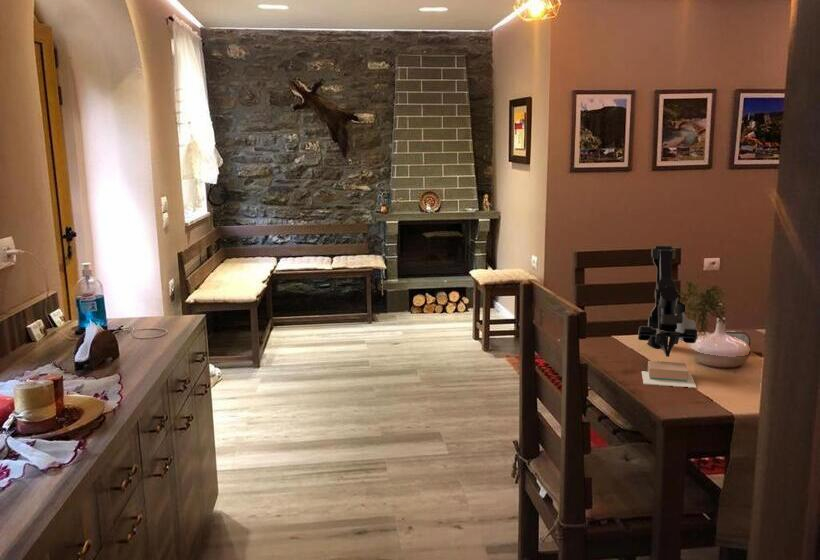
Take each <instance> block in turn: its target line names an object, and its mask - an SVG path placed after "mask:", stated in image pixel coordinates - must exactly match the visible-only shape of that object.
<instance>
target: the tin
mask: <svg viewBox="0 0 820 560" xmlns="http://www.w3.org/2000/svg"><path fill="white" fill-rule="evenodd" d="M725 330H726V333H727V334H728V335H730V336H732V337H736V338H738V339H741V340H743V341H745V342H746V343H747V344H748V345H749V347H750V346H751V342H752V341H751V337H750V336H749V334H748V333H747V332H746V331H745V330H742V329H725ZM714 331H715V330H713V331H711V333H713V332H714Z"/></svg>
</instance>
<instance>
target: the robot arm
mask: <svg viewBox="0 0 820 560" xmlns="http://www.w3.org/2000/svg"><path fill="white" fill-rule="evenodd" d="M676 251H677V250H676V249H675V248H673V247H672V245H654V247H653V248H651V253H650V254H651V259H652V263H653V264H654V266H655V268H656V275H655V276H656V278H655V279H656V280H655V281H656V282H655V288H654V299H655V301H654V303H655V305H654V306H653V308H652V309H651V311H650V315H648V321H647V325H640V326H639V327H638V331H637V332H638V333H637V339H638V340H639V341H647V343H646V345H648V346H650V347H652V348H653V349H662V351H663V353H664V356H665V357H666V358H667V357H670V355H671V352H672V349H673V348H674V346H675V345H678V344H679V342H680V341H679V338H683V341H684V342H683V343H685V344H695V343H696V341H697V338H698V329H697V328H696V329H691V328H685V329H684V332H676V329H677V323H678V324H682V322H683V314H676V307H677V302H678V300H679V299H681V293H680V292H679V290H678V289H677V284H676V282H675V281H674V280H673V274H672V273H673V272H672V263H673V262H674V261H673V260H675V259H676ZM679 301H680V300H679Z"/></svg>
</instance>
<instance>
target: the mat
mask: <svg viewBox="0 0 820 560" xmlns="http://www.w3.org/2000/svg"><path fill="white" fill-rule="evenodd" d="M641 376H642V383H643V385H644V386H657V385H658V386H659V387H670V386H673V387H675V388H683V387H688V388H687V389H697V386H696V383H695V380H694V378H693V375H692V374H688V380H687V381H673V380H660V379H650V378H649V374H648V371H647V370H646V371H645V370H644V371H643V370H642V371H641ZM673 387H672V388H673Z"/></svg>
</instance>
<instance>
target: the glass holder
mask: <svg viewBox="0 0 820 560" xmlns="http://www.w3.org/2000/svg"><path fill="white" fill-rule="evenodd" d="M680 301H681V300H679V301H677V305H676V307H675V315H676V314H683V322H682V324H678V323H677V329H676V332H684V329H685V328H691V329H696V330H697V321H696V322H695V321H694V320H690V319H688V318H686V316H685V314H684V312H685V305H684V304H682V303H680ZM679 340H681V341H680V342H682V341H683V338H679Z"/></svg>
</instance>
